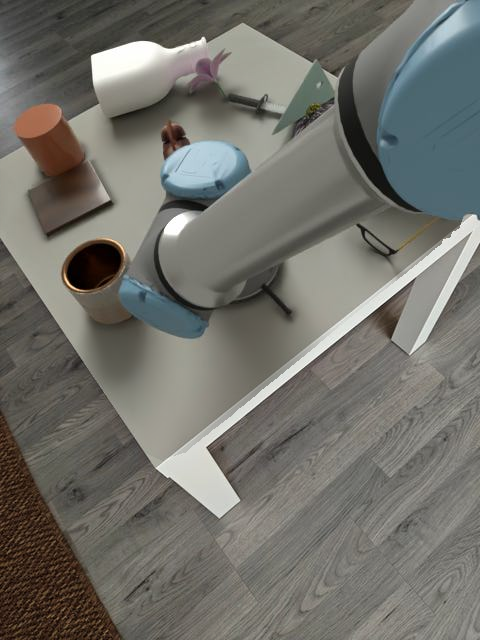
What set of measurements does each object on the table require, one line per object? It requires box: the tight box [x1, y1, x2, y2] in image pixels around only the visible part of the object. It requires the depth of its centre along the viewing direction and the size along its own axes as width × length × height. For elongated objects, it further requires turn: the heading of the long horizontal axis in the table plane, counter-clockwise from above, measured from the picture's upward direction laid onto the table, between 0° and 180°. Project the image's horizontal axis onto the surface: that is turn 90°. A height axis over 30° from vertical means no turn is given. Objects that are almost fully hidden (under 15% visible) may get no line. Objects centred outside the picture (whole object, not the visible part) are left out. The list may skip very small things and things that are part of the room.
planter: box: [60, 237, 134, 325], centre depth 79 cm, size 11×11×10 cm
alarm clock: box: [160, 119, 191, 162], centre depth 86 cm, size 11×5×15 cm, turn 12°
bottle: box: [90, 36, 212, 119], centre depth 106 cm, size 17×25×8 cm
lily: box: [185, 48, 233, 99], centre depth 103 cm, size 12×12×10 cm
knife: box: [227, 92, 307, 119], centre depth 99 cm, size 19×2×5 cm
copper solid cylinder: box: [13, 103, 85, 178], centre depth 100 cm, size 10×10×10 cm
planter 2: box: [271, 58, 335, 136], centre depth 97 cm, size 8×6×18 cm
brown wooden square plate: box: [27, 159, 113, 237], centre depth 97 cm, size 14×14×1 cm
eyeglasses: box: [355, 216, 439, 257], centre depth 78 cm, size 14×14×4 cm
